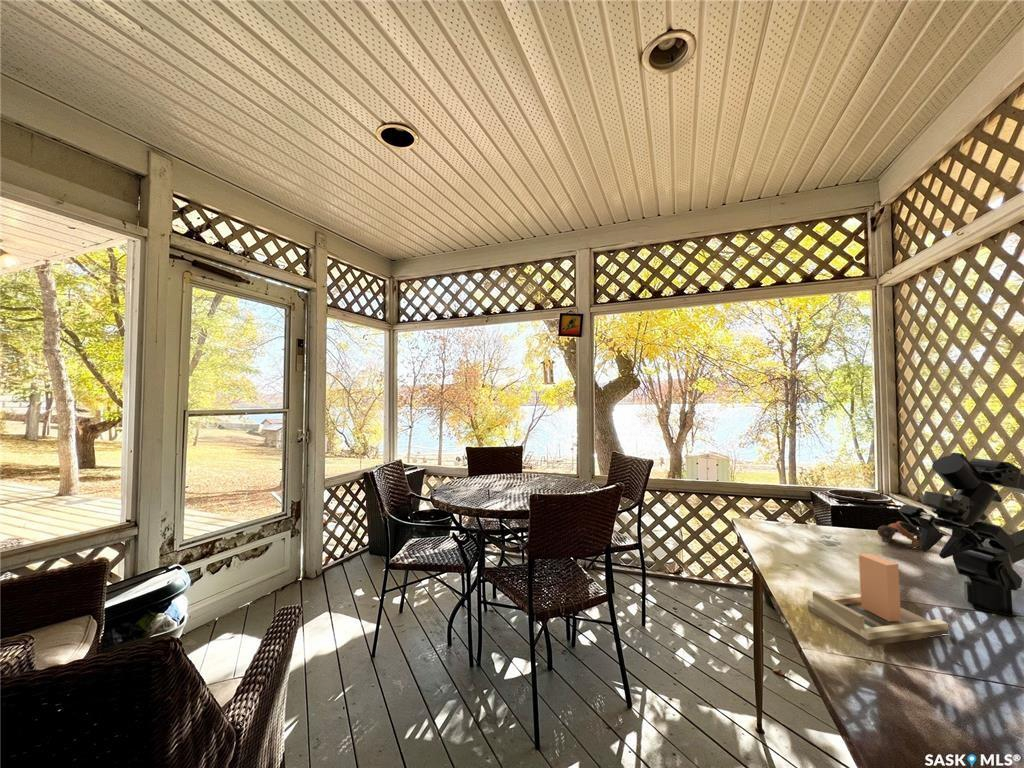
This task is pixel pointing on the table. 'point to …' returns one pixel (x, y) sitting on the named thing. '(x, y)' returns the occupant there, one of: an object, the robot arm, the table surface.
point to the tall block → (880, 587)
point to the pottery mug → (890, 530)
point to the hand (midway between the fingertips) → (931, 554)
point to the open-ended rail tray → (872, 620)
